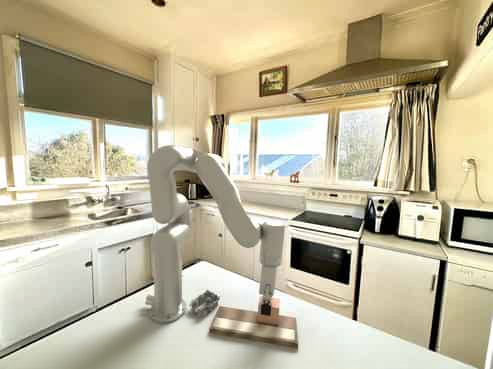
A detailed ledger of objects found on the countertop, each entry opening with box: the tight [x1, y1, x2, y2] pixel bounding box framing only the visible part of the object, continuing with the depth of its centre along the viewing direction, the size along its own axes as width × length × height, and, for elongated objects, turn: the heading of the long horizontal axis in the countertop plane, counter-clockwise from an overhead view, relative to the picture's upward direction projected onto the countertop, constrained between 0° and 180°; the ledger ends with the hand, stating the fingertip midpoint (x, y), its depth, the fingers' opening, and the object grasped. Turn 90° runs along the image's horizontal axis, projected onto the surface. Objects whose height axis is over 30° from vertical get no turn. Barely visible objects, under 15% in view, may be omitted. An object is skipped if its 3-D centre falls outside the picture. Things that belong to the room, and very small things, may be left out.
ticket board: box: [208, 305, 299, 349], centre depth 72 cm, size 28×11×2 cm, turn 80°
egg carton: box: [188, 289, 221, 318], centre depth 81 cm, size 11×8×4 cm
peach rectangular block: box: [257, 295, 281, 325], centre depth 74 cm, size 7×5×6 cm
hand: (266, 304), depth 74 cm, fingers open, 9 cm apart
